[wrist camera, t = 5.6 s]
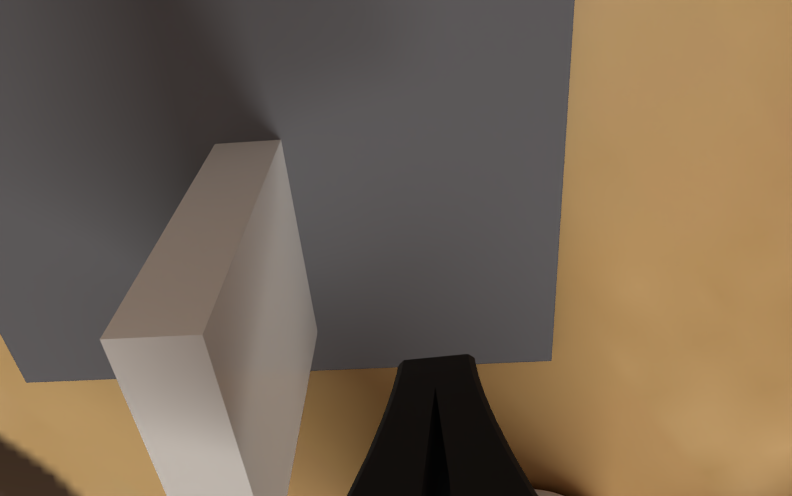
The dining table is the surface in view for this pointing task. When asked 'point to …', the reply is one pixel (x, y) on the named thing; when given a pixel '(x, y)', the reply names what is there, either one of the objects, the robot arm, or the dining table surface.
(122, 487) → the dining table surface
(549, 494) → the pill bottle
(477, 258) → the mat
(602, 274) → the dining table surface
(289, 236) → the tile
